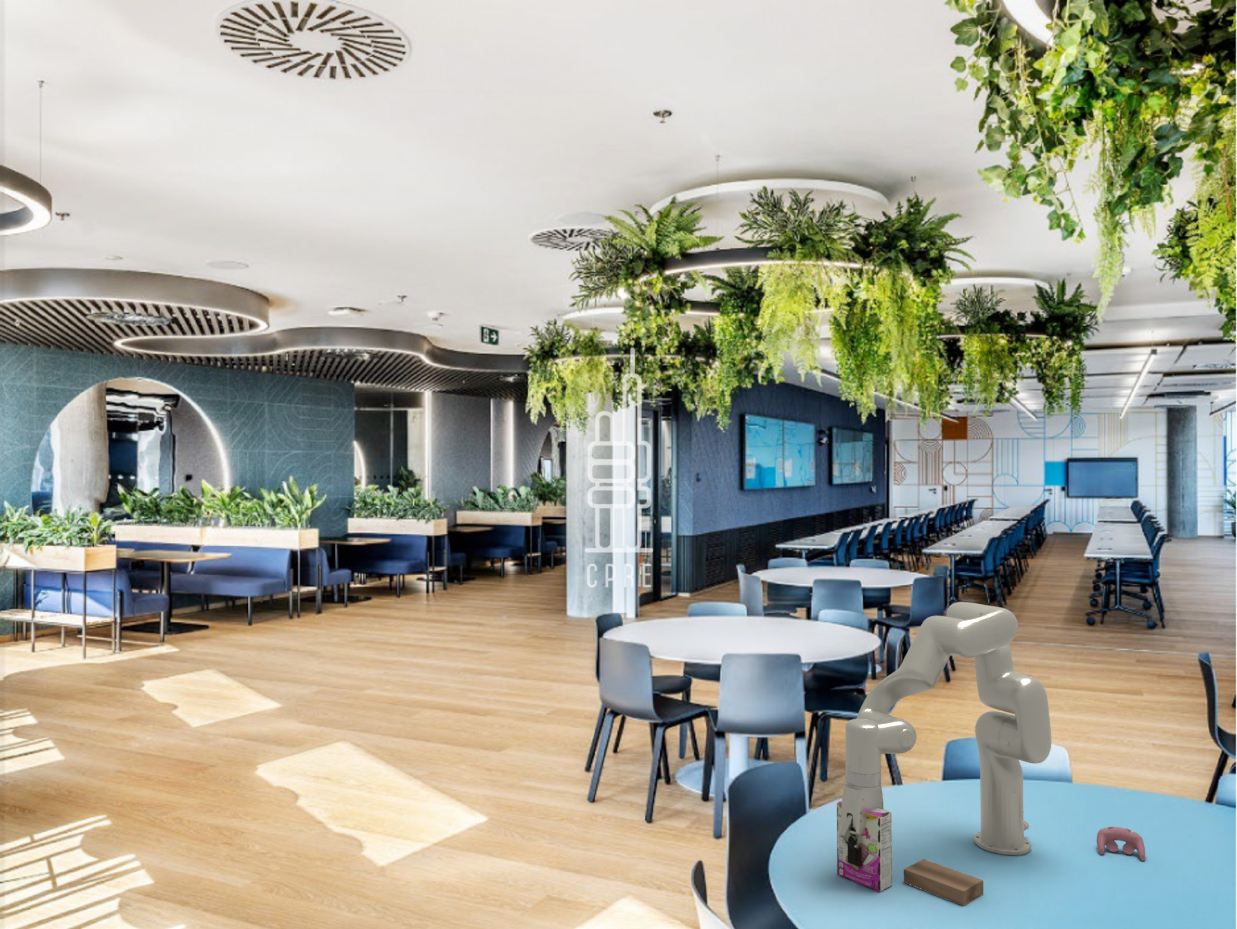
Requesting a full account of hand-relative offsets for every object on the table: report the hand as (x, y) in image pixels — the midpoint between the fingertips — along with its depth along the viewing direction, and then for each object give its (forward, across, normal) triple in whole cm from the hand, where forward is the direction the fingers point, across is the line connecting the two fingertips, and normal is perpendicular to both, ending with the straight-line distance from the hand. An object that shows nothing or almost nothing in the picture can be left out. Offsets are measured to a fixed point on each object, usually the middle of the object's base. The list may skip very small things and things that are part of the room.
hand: (863, 859), depth 196 cm
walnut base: (+5, -10, +13) cm, 17 cm away
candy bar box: (+5, 0, 0) cm, 5 cm away
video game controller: (+5, -58, +30) cm, 66 cm away
